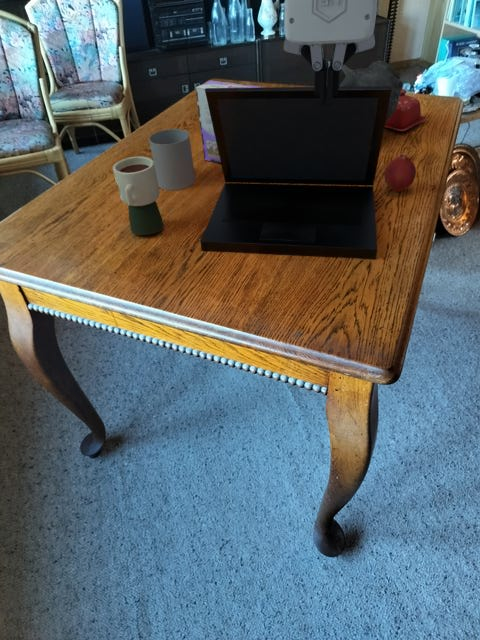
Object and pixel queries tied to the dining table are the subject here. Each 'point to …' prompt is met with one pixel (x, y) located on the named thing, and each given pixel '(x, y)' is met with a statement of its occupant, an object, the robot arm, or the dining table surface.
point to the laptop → (293, 220)
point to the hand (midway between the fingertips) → (326, 101)
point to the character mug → (139, 193)
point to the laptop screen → (299, 134)
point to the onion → (400, 173)
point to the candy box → (205, 118)
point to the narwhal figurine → (375, 80)
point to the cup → (172, 159)
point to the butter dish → (405, 113)
